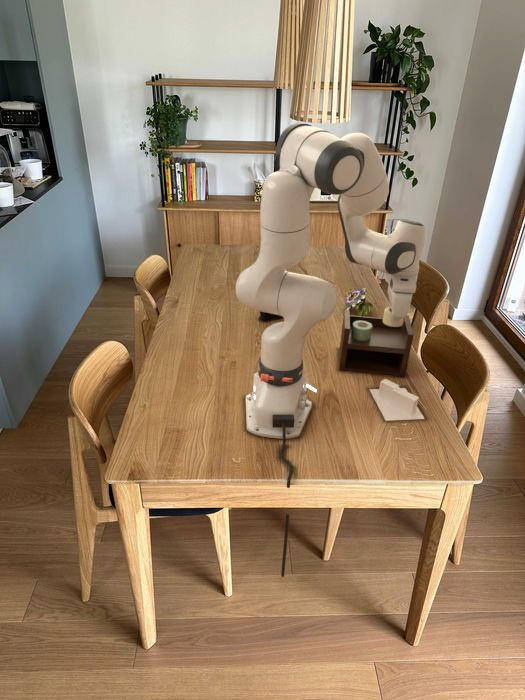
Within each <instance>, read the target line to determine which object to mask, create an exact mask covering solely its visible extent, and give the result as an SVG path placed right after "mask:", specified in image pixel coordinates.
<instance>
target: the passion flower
mask: <svg viewBox="0 0 525 700" xmlns="http://www.w3.org/2000/svg"><path fill="white" fill-rule="evenodd" d="M366 291H367V287H364V288H363V287H362V288H356V289H353V288H351V289H349V290H348V291H347V292H346V293H345V298H346V299H345V305H346V307H347V308H345V310H350V311H351V310H352V309H353V308H356V311H357V316H362V315H363V317H368V315H370V314H371V309H374V310H375V309H376V307H377V302H373V303H372V302H368V301H366V298H367V295H366V294H365V293H366ZM373 304H374V305H373Z"/></svg>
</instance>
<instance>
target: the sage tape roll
mask: <svg viewBox="0 0 525 700" xmlns="http://www.w3.org/2000/svg"><path fill="white" fill-rule="evenodd" d="M371 332H372V324H371V323H369V322H367V321H355V322H354V323H353V326H352V333H351V336H352V337H353V338H354V339H356V340H360V341H366V340H369V339H370V338H371Z"/></svg>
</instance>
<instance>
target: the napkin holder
mask: <svg viewBox="0 0 525 700" xmlns="http://www.w3.org/2000/svg"><path fill="white" fill-rule="evenodd" d="M379 384H380V385H379V388H369V390H368V391H370V393H371V395H372V398H373V399H374V401H375V403H376V404H377V407H378V409H379V412H380V413H381V414H382V416H383V418H384V421H386V422H388V421H389V422H390V421H411V420H425V417H424V415H423V413H422V411H421V410H420V408H419V407H418V403H419V400H420V399H419V398H420V397H419V396H417V395H415V394H413V393H411V392H409V391H408V390H407V388H406V387H400V384H398V383H395V382H394V381H391V380H389V379H387V378H384V379H382V380H381V381H380V383H379Z"/></svg>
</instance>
